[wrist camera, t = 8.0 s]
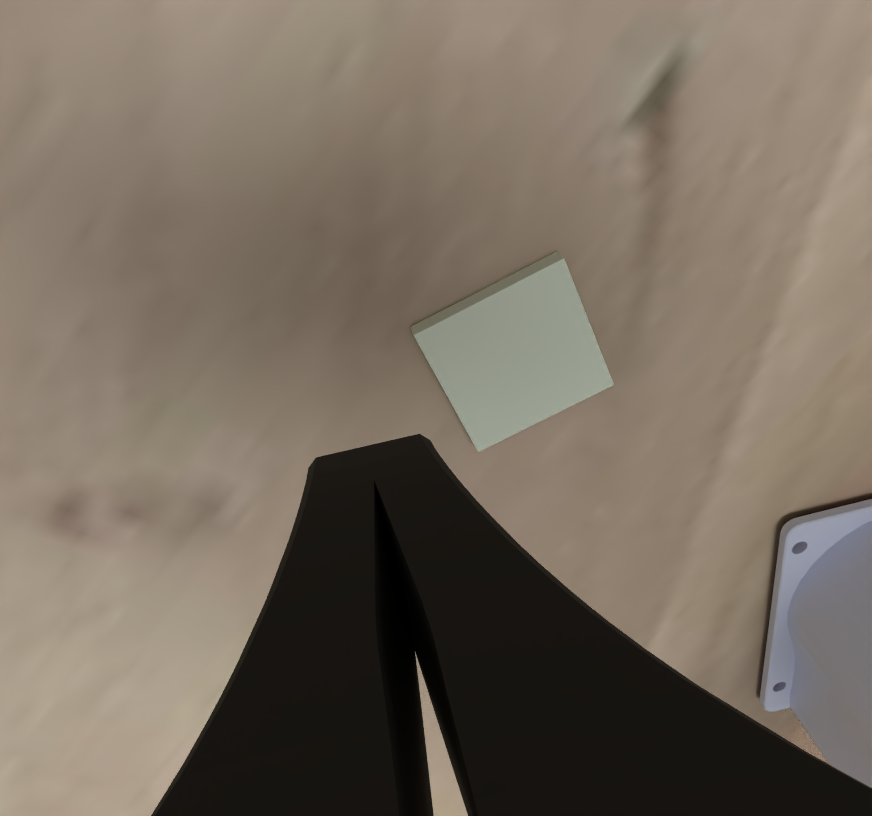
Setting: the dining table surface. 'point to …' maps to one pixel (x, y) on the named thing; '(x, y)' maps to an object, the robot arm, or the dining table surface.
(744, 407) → the dining table surface
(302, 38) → the dining table surface
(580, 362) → the ceramic tile
